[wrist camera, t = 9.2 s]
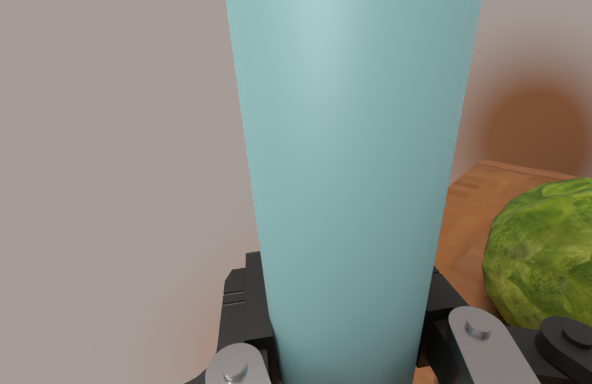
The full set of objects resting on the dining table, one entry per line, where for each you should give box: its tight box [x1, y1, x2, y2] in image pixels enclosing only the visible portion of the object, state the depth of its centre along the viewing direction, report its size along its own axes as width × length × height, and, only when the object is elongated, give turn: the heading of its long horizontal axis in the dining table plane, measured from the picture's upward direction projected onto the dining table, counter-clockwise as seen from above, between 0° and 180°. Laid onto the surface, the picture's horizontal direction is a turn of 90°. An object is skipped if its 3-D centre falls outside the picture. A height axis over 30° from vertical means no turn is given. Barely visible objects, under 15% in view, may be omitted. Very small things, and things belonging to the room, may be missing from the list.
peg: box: [226, 0, 482, 384], centre depth 9 cm, size 4×4×18 cm
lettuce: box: [482, 177, 592, 330], centre depth 31 cm, size 17×23×16 cm
